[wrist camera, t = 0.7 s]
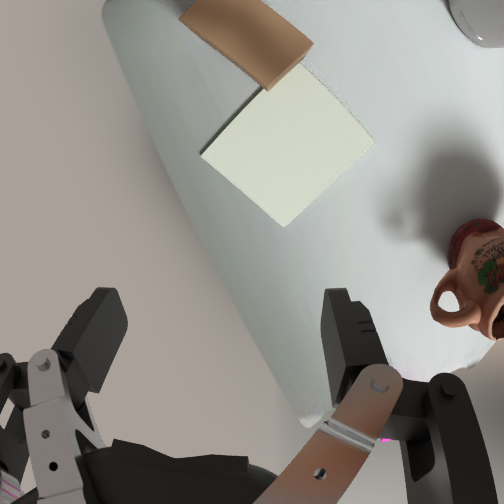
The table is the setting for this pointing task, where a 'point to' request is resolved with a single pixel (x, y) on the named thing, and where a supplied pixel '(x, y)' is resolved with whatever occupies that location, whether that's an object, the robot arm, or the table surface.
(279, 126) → the mat
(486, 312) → the decorative planter
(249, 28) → the walnut block
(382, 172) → the table surface
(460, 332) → the table surface
